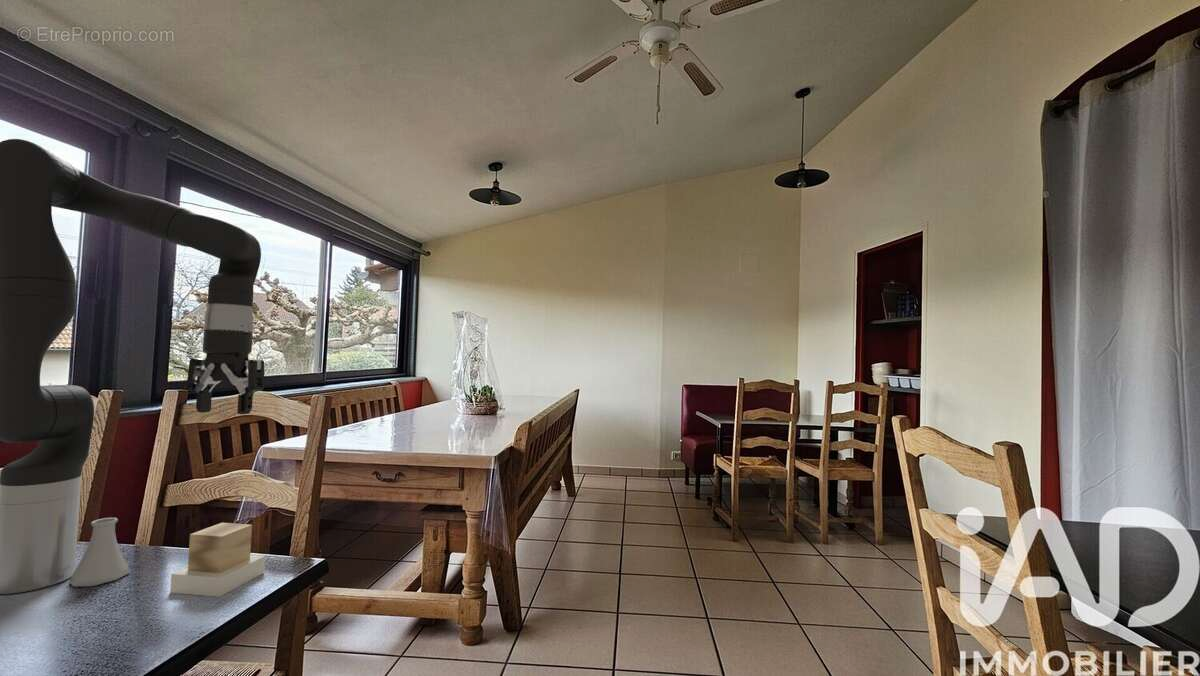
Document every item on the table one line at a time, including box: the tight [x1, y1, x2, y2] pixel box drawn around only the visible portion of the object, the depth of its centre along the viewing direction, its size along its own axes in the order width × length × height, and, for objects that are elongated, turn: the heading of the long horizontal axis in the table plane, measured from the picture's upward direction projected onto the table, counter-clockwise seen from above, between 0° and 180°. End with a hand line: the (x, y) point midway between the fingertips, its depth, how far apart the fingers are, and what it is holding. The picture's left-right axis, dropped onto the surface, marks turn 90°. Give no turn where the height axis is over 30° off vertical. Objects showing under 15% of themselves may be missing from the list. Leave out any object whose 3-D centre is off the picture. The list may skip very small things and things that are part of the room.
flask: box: [68, 517, 131, 588], centre depth 84 cm, size 7×7×10 cm
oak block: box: [187, 522, 253, 573], centre depth 84 cm, size 6×6×6 cm
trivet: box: [169, 554, 266, 598], centre depth 83 cm, size 9×9×3 cm
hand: (223, 413), depth 93 cm, fingers open, 8 cm apart
